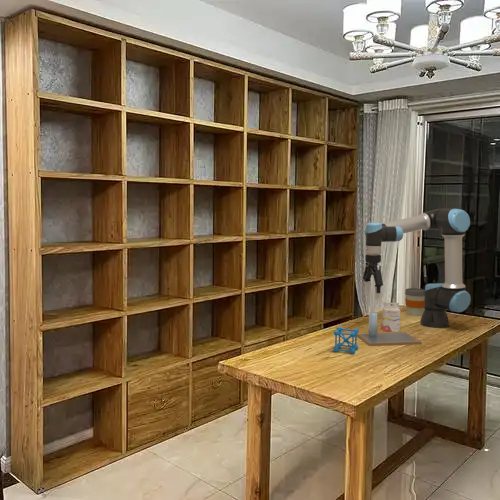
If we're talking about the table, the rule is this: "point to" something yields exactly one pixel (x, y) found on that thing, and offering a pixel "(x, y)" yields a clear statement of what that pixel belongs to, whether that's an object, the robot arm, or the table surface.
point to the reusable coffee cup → (415, 301)
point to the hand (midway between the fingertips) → (372, 297)
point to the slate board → (389, 339)
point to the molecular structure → (346, 340)
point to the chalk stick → (373, 324)
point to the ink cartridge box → (391, 317)
